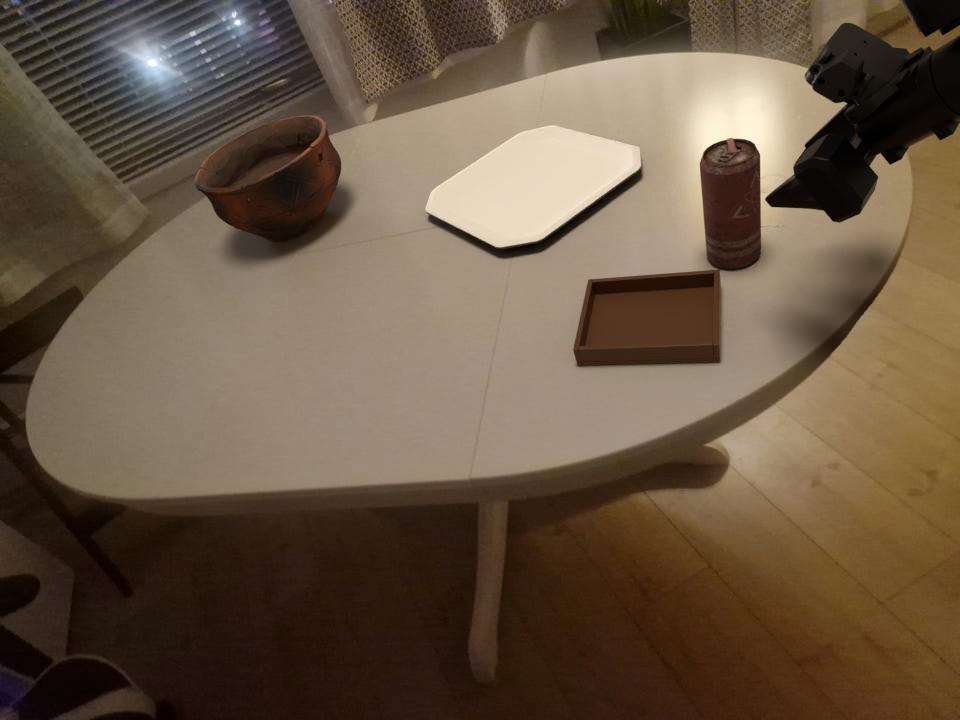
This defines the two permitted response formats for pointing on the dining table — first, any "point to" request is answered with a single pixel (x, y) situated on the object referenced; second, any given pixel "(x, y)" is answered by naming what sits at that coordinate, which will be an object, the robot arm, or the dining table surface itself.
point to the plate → (532, 185)
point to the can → (731, 202)
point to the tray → (650, 319)
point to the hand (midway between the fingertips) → (788, 174)
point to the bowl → (273, 178)
